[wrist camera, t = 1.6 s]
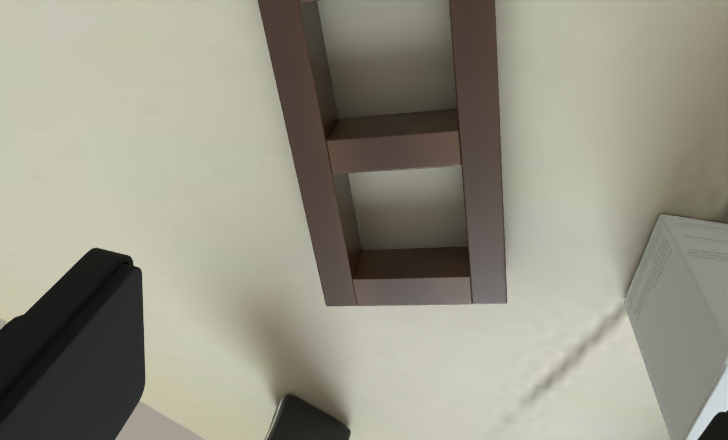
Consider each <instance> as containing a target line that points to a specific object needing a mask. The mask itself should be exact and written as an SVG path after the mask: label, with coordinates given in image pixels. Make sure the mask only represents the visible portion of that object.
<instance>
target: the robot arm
mask: <svg viewBox="0 0 728 440" xmlns="http://www.w3.org/2000/svg"><path fill="white" fill-rule="evenodd" d="M144 386H145V357H144V325H143V292H142V272H141V269H140V268H138V267H135V266H134V265H133V260H132V258H131V257H130V256H128V255H124V254H120V253H116V252H112V251H108V250H103V249H99V248H93V249H91V250H90V251H88V252H87V253H86V254H85V255H84V256H83V257H82V258H81V259H80V260H79V261H78V262H77V263H76V264H75V265H74V266H73V267H72V268H71V269H70V270H69V271H68V272H67V273H66V274H65V275H64V276H63V277H62V278H61V279H60V280H59V281H58V282H57V283H56V284H55V285H54V286H53V287H52V288H51V289H50V290H49V291H48V292H46V293H45V294H44V295H43V296H42V297H41V298H40V299H39V300H38V301H37V302H36V303H35V304H34V305H33V306H32V307H31V308H30V309H29V310H28V311H27V312H26V313H25V314H24V315H21V316H18V317H15V318H14V319H12V320H11V321H10V322H8V323H7V324H6V325H5V326H4V327H3V328H2V329H1V330H0V440H115V438H116V437H117V435H118V434H119V432H120V431H121V429H122V427H123V426H124V425H125V423H126V421H127V420H128V418H129V417H130V415H131V413H132V412H133V410H134V409H135V407H136V406H137V404H138V402H139V400H140V398H141V396H142V393H143V390H144ZM698 440H728V410H727V411H726V412H719V413H717V414H716V415H715V416H714V417H713V419H712V420H711V422H710V423H709V424H708V426H707V427H706V429H705V430H704V431H703V433H702V434H701V436H700V437H699V438H698Z"/></svg>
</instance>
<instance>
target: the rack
mask: <svg viewBox="0 0 728 440" xmlns="http://www.w3.org/2000/svg"><path fill="white" fill-rule="evenodd" d="M317 1H318V0H258V4H259V8H260V13H261V17H262V22H263V26H264V30H265V35H266V39H267V44H268V48H269V53H270V57H271V62H272V66H273V71H274V75H275V80H276V84H277V89H278V93H279V97H280V102H281V106H282V111H283V115H284V120H285V124H286V129H287V133H288V138H289V142H290V147H291V151H292V156H293V160H294V164H295V169H296V173H297V178H298V182H299V187H300V191H301V196H302V200H303V205H304V209H305V214H306V218H307V223H308V227H309V232H310V236H311V240H312V245H313V249H314V254H315V258H316V263H317V267H318V272H319V276H320V281H321V285H322V290H323V294H324V299H325V303H326V306H357V305H358V306H383V305H455V304H472V303H473V304H506V303H507V286H506V261H505V237H504V212H503V188H502V163H501V139H500V114H499V90H498V65H497V41H496V16H495V0H449V6H450V19H451V32H452V45H453V58H454V71H455V84H456V97H457V109H452V110H440V111H428V112H416V113H405V114H393V115H381V116H369V117H357V118H345V119H338V118H337V112H336V107H335V101H334V95H333V90H332V84H331V79H330V73H329V67H328V62H327V56H326V51H325V45H324V39H323V34H322V28H321V23H320V17H319V11H318V6H317ZM461 165H462V176H463V189H464V203H465V216H466V229H467V242H468V247H452V248H423V249H394V250H365V251H361V247H360V241H359V236H358V230H357V224H356V219H355V213H354V208H353V202H352V196H351V191H350V185H349V179H348V174H347V173H358V172H374V171H389V170H405V169H421V168H436V167H452V166H461Z"/></svg>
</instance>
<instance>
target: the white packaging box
mask: <svg viewBox="0 0 728 440" xmlns="http://www.w3.org/2000/svg"><path fill="white" fill-rule="evenodd" d="M624 305H625V308H626V311H627V314H628V316H629V319H630V322H631V325H632V328H633V331H634V334H635V337H636V340H637V343H638V345H639V348H640V351H641V354H642V357H643V360H644V363H645V366H646V369H647V372H648V375H649V378H650V381H651V384H652V387H653V389H654V392H655V395H656V398H657V401H658V404H659V406H660V410H661V412H662V415H663V418H664V421H665V424H666V427H667V430H668V432H669V436H670V438H671V440H698V438H699V437H700V436H701V434H702V433H703V431H704V430H705V429H706V427H707V426H708V424H709V423H710V422H711V420H712V419H713V417H714V416H715V415H716V414H717V413H719V412H726V411H727V410H728V224H723V223H717V222H711V221H704V220H698V219H691V218H685V217H679V216H672V215H666V214H660V215H659V218H658V220H657V222H656V225H655V227H654V229H653V232H652V234H651V237H650V239H649V242H648V244H647V246H646V248H645V251H644V253H643V256H642V258H641V261H640V263H639V265H638V268H637V270H636V273H635V275H634V277H633V280H632V283H631V285H630V287H629V290H628V292H627V295H626V298H625V300H624Z"/></svg>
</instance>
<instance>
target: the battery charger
mask: <svg viewBox="0 0 728 440" xmlns="http://www.w3.org/2000/svg"><path fill="white" fill-rule="evenodd" d="M350 433H351V431H350V430H349V429H348V428H347V427H345V426H344V425H342V424H340V423H339V422H337V421H336V420H334V419H332V418H331V417H329V416H327V415H326V414H324V413H322V412H321V411H319V410H317V409H315V408H314V407H312V406H310V405H308V404H306V403H305V402H303V401H301V400H299V399H297V398H295V397H293V396H291V395H286V396H285V397H283V398H282V399H281V401H280V403H279V404H278V406H277V408H276V411H275V414H274V416H273V419H272V423H271V426H270V428H269V431H268V433H267V436H266V438H265V440H349V437H350Z"/></svg>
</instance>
